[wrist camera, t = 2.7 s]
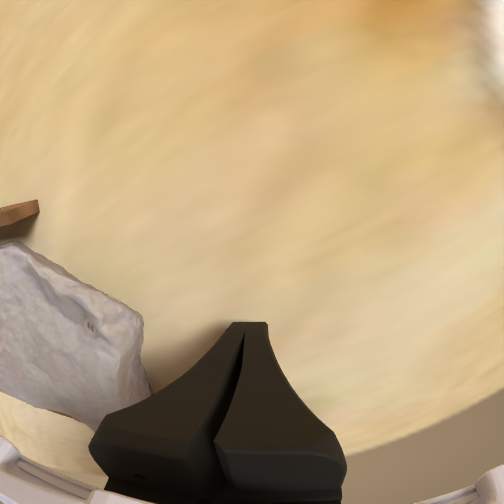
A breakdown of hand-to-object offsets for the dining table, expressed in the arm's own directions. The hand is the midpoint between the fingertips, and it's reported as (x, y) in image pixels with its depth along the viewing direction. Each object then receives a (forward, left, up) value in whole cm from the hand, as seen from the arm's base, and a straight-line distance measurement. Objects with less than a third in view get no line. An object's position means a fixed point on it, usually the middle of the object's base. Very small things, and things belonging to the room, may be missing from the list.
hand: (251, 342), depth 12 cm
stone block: (-1, +11, -2) cm, 11 cm away
